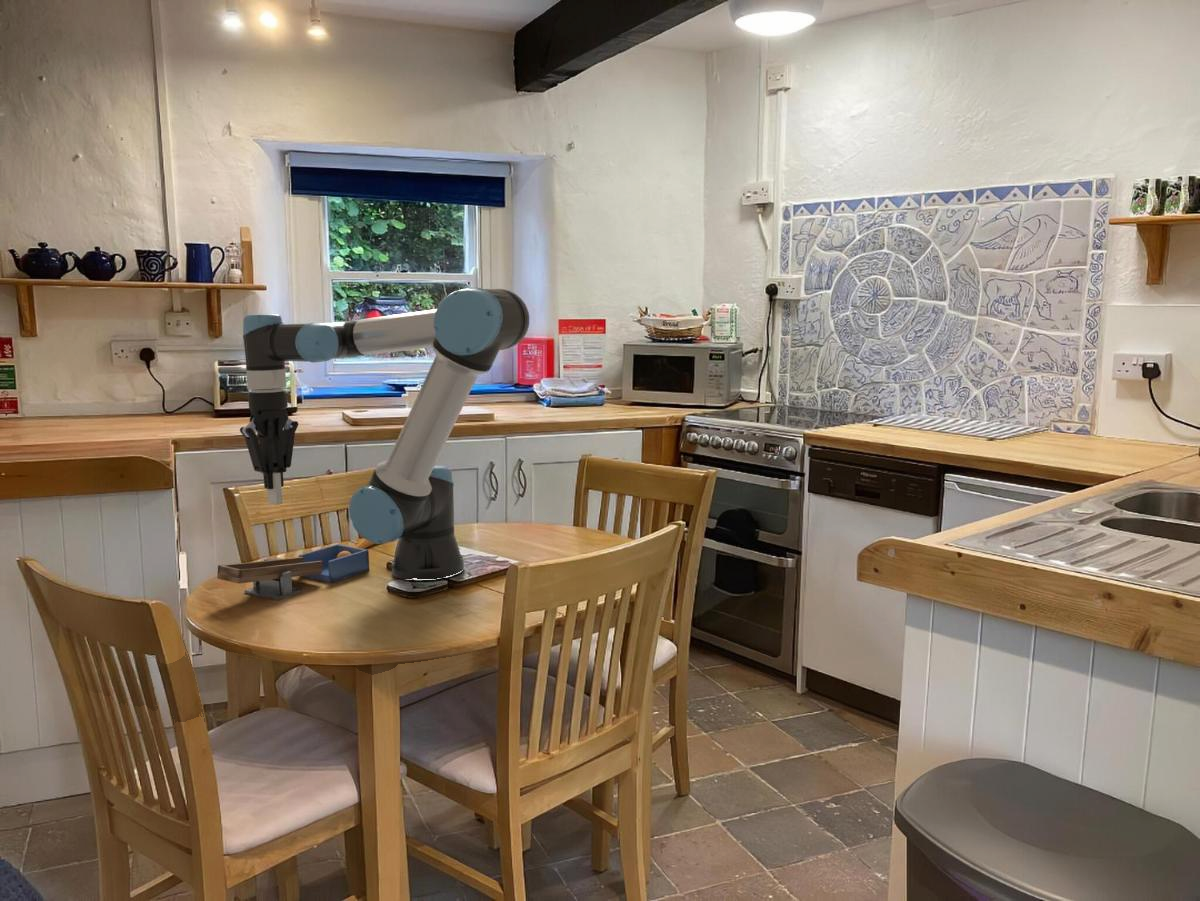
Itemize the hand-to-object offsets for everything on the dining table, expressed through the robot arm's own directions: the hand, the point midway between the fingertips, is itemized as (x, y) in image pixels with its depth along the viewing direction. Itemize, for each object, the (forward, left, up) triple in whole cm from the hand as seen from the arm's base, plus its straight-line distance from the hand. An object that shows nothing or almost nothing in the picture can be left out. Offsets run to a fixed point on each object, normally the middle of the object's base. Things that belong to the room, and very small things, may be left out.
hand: (275, 503), depth 196 cm
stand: (-8, +8, -16) cm, 19 cm away
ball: (-8, -11, -13) cm, 19 cm away
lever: (-4, +8, -12) cm, 15 cm away
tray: (-8, -8, -16) cm, 19 cm away
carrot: (+4, -29, -16) cm, 33 cm away
